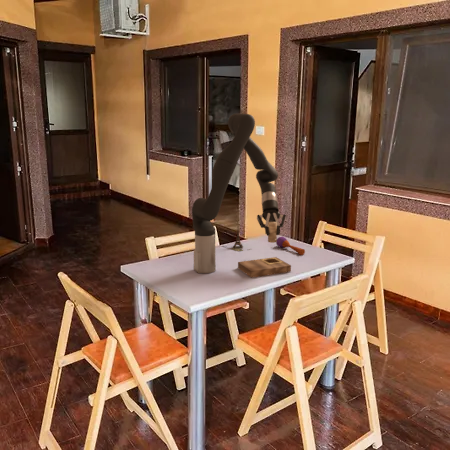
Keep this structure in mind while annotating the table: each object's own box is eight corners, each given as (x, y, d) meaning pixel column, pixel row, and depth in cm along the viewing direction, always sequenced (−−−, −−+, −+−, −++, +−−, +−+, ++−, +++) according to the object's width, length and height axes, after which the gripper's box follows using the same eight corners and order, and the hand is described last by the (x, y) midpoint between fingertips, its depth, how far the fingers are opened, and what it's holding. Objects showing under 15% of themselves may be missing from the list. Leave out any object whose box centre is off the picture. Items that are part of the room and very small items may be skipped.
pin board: (251, 277, 210) (251, 270, 209) (237, 268, 222) (238, 261, 221) (290, 271, 217) (291, 265, 216) (275, 263, 230) (276, 256, 229)
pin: (270, 243, 218) (270, 223, 216) (266, 240, 222) (266, 222, 219) (278, 242, 219) (278, 223, 217) (274, 239, 223) (274, 221, 221)
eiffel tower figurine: (220, 247, 259) (220, 223, 256) (235, 244, 265) (235, 220, 262) (238, 253, 248) (238, 228, 245) (253, 249, 254) (253, 225, 251)
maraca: (297, 248, 240) (273, 237, 256) (298, 259, 242) (274, 247, 259) (306, 245, 243) (282, 233, 259) (307, 255, 245) (283, 243, 261)
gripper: (255, 199, 223) (258, 230, 214) (285, 198, 224) (289, 230, 215) (254, 208, 229) (256, 239, 221) (283, 207, 230) (287, 238, 221)
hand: (273, 234), depth 218 cm, fingers closed on pin, 4 cm apart
